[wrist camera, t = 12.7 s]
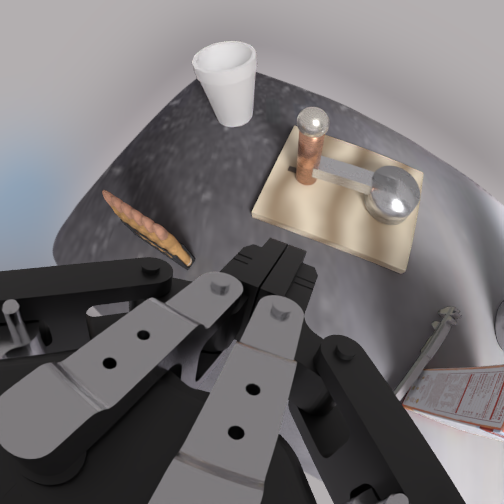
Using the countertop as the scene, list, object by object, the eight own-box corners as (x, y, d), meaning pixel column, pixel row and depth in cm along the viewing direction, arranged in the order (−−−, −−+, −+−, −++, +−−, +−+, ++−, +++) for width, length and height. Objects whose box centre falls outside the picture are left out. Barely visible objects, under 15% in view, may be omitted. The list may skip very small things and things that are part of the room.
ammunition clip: (196, 259, 40) (166, 221, 29) (188, 270, 40) (154, 236, 28) (141, 223, 43) (103, 181, 32) (134, 233, 42) (93, 193, 31)
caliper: (437, 310, 35) (460, 301, 29) (442, 314, 35) (466, 306, 29) (354, 438, 31) (367, 452, 25) (360, 442, 30) (374, 456, 24)
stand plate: (420, 177, 42) (423, 172, 40) (401, 274, 37) (406, 270, 35) (294, 131, 46) (294, 124, 45) (252, 217, 41) (251, 211, 40)
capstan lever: (411, 190, 39) (447, 135, 27) (406, 232, 37) (449, 182, 25) (301, 154, 42) (305, 88, 30) (286, 193, 40) (288, 128, 28)
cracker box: (484, 395, 29) (588, 397, 10) (467, 433, 28) (567, 457, 8) (418, 364, 33) (529, 357, 13) (398, 406, 31) (500, 437, 11)
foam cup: (213, 98, 51) (199, 43, 38) (263, 97, 50) (258, 39, 37) (204, 134, 48) (185, 76, 35) (259, 133, 47) (252, 72, 34)
